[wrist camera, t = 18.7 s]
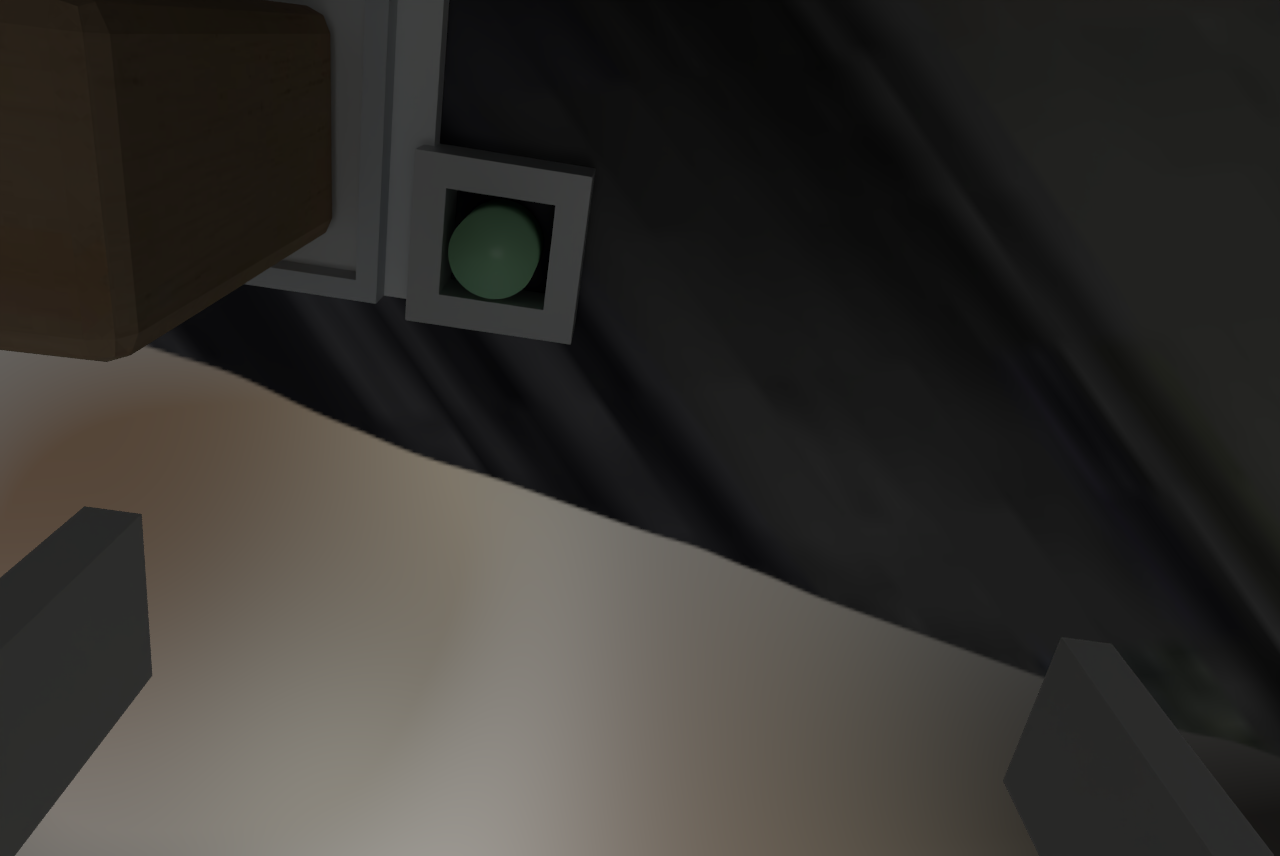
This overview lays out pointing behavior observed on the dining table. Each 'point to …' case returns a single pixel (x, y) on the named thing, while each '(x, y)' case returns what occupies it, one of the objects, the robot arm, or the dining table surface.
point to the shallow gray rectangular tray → (372, 145)
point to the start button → (496, 249)
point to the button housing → (435, 224)
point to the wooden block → (152, 162)
